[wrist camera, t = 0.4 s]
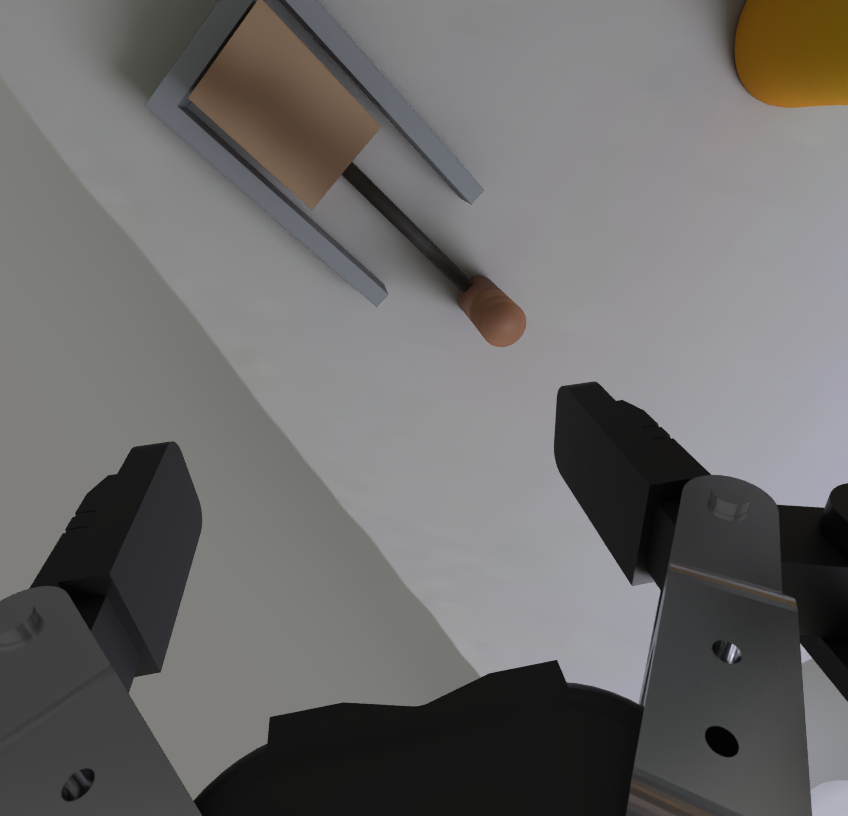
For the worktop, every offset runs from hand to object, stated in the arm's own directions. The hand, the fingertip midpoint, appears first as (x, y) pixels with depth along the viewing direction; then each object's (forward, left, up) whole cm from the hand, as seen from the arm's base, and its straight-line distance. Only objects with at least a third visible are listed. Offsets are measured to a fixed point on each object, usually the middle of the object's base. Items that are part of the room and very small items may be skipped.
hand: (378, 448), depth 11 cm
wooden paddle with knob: (-3, +1, -29) cm, 29 cm away
